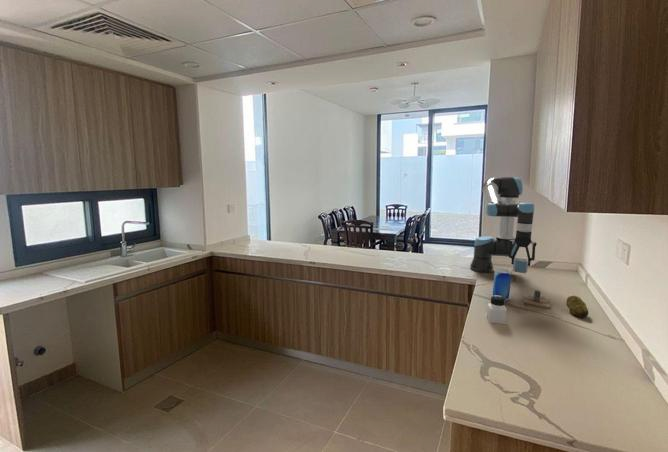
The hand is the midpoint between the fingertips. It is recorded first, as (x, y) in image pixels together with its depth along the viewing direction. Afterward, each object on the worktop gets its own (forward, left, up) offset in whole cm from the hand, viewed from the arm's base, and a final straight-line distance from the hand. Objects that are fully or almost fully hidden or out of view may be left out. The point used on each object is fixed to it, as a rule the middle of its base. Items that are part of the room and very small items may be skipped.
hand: (519, 270), depth 202 cm
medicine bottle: (+41, -10, -15) cm, 45 cm away
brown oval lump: (+15, +26, -15) cm, 34 cm away
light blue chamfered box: (0, 0, 0) cm, 0 cm away
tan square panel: (+8, +9, -15) cm, 19 cm away
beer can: (+10, -9, -15) cm, 20 cm away
